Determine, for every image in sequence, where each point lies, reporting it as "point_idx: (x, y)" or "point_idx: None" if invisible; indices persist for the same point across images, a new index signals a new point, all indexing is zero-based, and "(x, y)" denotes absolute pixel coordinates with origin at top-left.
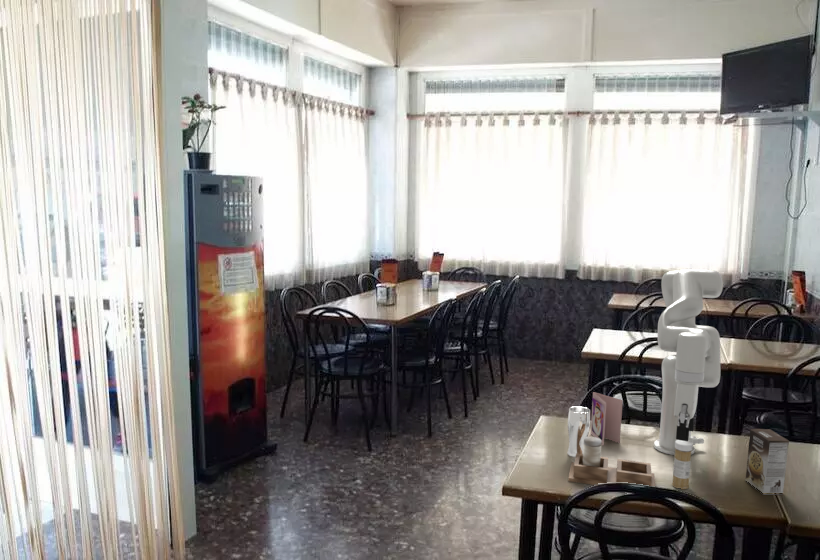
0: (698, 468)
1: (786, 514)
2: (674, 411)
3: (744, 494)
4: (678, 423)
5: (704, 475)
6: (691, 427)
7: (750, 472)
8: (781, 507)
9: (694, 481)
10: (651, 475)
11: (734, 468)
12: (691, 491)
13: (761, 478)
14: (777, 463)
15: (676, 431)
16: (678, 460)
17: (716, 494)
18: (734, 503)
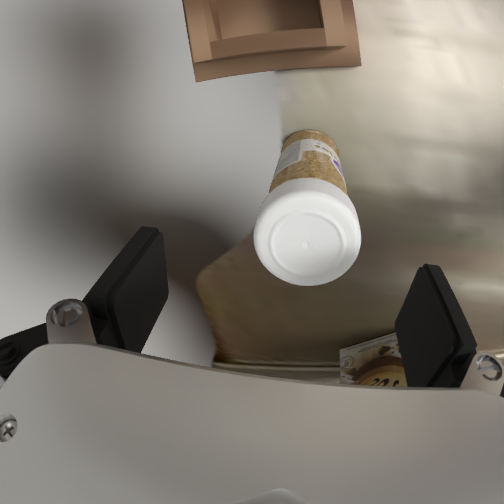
0: (476, 223)
1: (251, 367)
2: (1, 389)
3: (325, 318)
4: (49, 323)
5: (430, 236)
6: (402, 339)
7: (397, 356)
8: (282, 366)
9: (373, 203)
10: (201, 60)
11: (482, 308)
12: None
13: (350, 375)
14: None
15: (115, 258)
16: (273, 178)
17: None
18: (254, 292)
